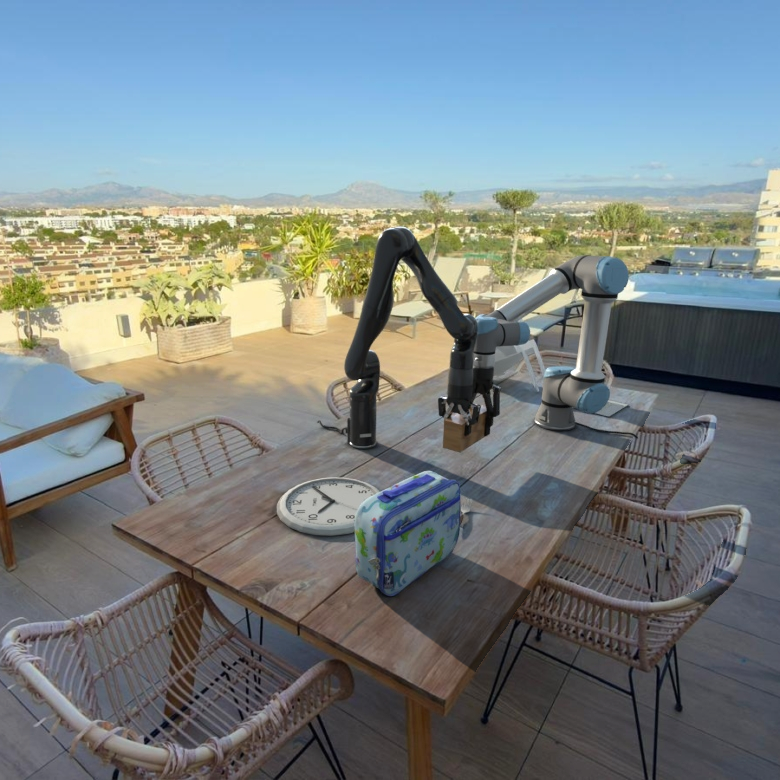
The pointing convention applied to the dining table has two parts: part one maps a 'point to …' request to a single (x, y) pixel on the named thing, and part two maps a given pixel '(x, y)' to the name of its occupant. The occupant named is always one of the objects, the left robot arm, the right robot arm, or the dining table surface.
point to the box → (463, 431)
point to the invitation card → (611, 408)
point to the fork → (465, 509)
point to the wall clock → (324, 505)
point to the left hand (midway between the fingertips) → (457, 432)
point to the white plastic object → (517, 358)
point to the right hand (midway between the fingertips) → (477, 432)
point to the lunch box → (406, 530)
